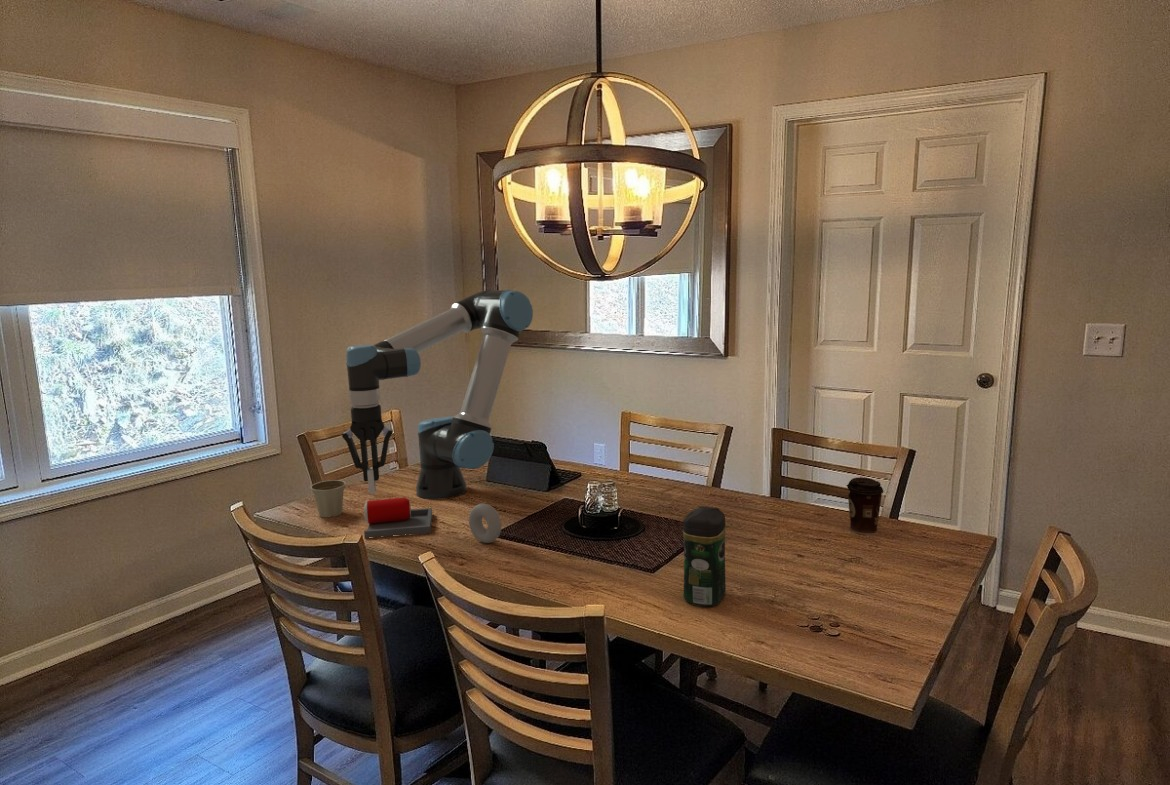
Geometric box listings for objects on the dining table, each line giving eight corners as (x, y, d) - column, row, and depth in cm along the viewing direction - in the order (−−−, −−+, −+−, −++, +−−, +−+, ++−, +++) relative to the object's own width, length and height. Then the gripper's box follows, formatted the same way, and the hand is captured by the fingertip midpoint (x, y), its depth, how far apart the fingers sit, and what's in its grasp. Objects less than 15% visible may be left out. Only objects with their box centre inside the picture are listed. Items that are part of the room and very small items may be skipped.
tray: (432, 514, 203) (432, 507, 202) (430, 533, 188) (429, 526, 188) (371, 519, 200) (371, 512, 200) (364, 538, 186) (364, 531, 185)
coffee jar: (692, 584, 154) (692, 501, 151) (729, 591, 151) (730, 505, 148) (678, 604, 146) (677, 516, 143) (716, 611, 142) (717, 521, 139)
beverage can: (364, 496, 196) (409, 492, 199) (366, 516, 199) (410, 511, 202) (363, 509, 191) (410, 504, 194) (365, 528, 193) (411, 524, 196)
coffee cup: (842, 533, 181) (844, 483, 179) (847, 522, 188) (849, 474, 186) (879, 538, 177) (882, 487, 175) (883, 527, 184) (885, 478, 182)
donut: (505, 544, 180) (503, 505, 178) (495, 548, 177) (493, 509, 175) (476, 536, 186) (474, 498, 184) (466, 540, 183) (464, 502, 181)
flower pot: (341, 519, 200) (338, 489, 199) (307, 520, 201) (304, 490, 199) (352, 508, 210) (350, 479, 208) (320, 509, 210) (318, 480, 208)
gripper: (392, 401, 192) (399, 486, 196) (341, 403, 190) (349, 490, 194) (390, 406, 185) (396, 495, 189) (336, 409, 183) (344, 498, 187)
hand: (372, 492), depth 192 cm, fingers closed
